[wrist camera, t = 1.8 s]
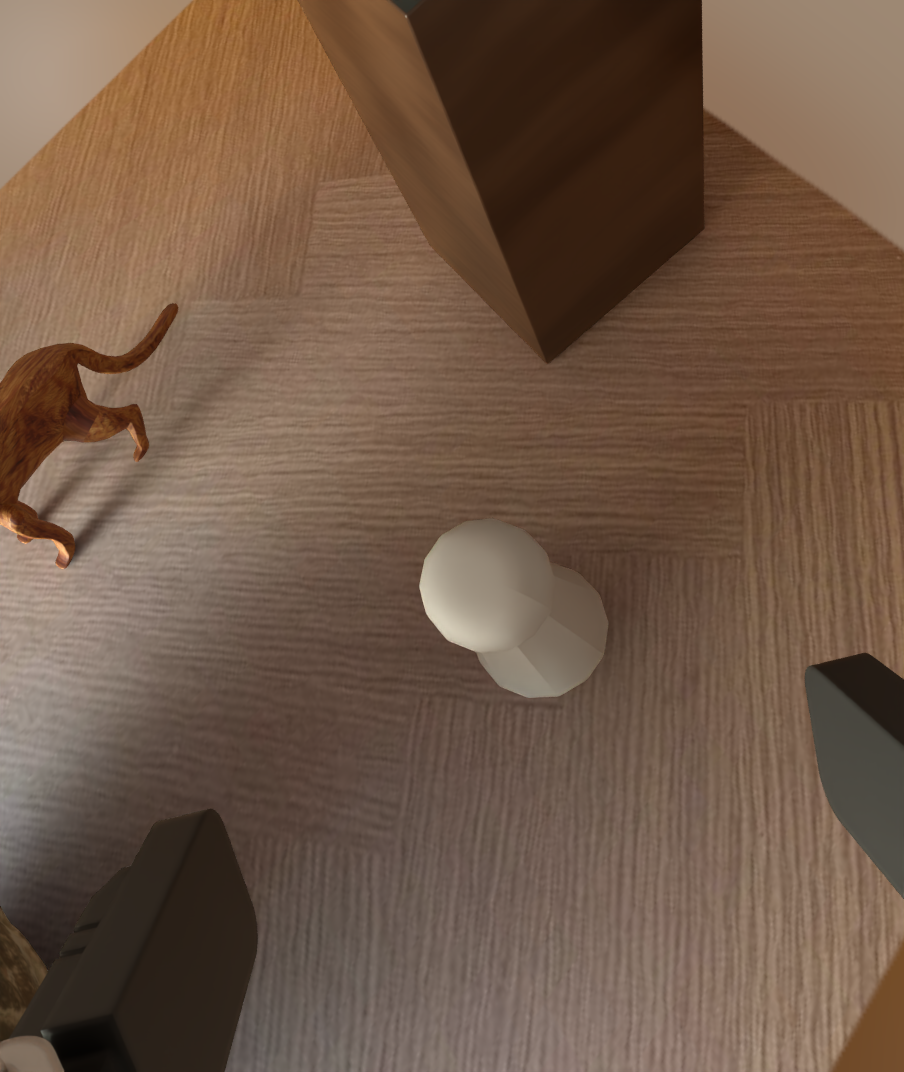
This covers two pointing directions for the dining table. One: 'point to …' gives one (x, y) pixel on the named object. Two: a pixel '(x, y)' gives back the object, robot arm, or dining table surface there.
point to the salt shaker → (514, 608)
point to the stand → (534, 140)
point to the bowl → (16, 975)
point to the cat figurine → (60, 421)
